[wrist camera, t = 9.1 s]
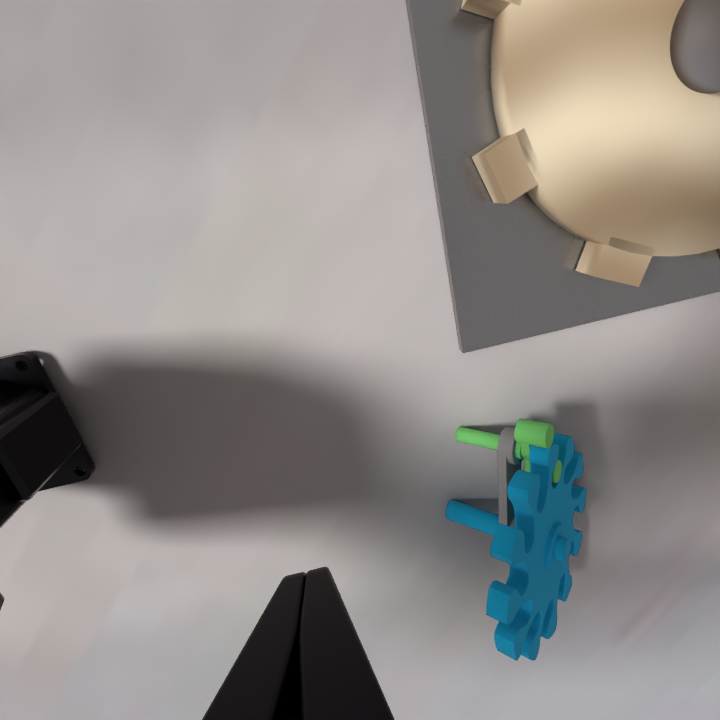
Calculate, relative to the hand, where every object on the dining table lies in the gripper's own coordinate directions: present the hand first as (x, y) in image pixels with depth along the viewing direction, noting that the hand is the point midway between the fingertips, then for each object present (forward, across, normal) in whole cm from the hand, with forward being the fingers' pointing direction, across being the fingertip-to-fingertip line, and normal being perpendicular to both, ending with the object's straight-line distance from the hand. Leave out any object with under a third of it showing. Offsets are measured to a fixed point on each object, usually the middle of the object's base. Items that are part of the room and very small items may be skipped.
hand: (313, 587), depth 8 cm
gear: (+13, -8, +10) cm, 18 cm away
